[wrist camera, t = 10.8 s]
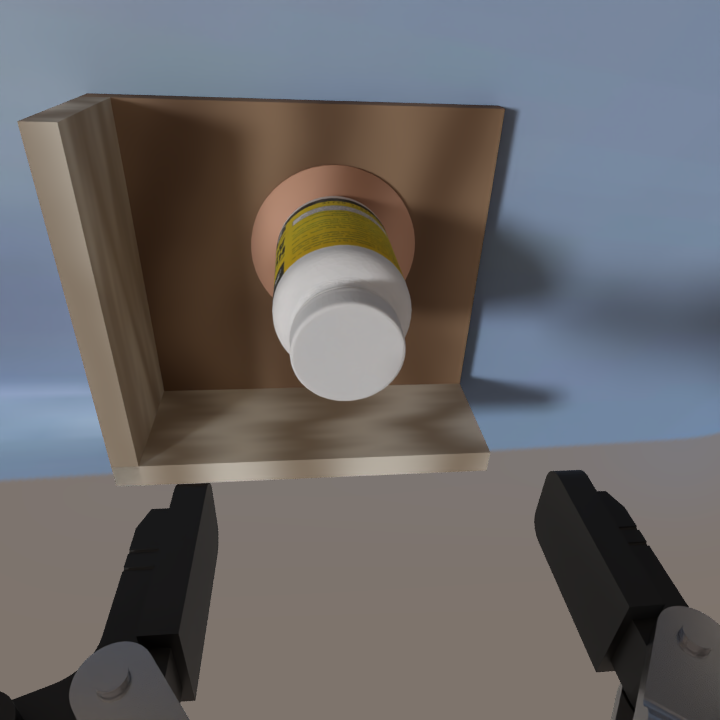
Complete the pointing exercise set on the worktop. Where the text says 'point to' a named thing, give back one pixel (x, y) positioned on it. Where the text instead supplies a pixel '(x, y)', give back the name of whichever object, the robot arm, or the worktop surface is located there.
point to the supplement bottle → (340, 299)
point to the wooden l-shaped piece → (258, 276)
